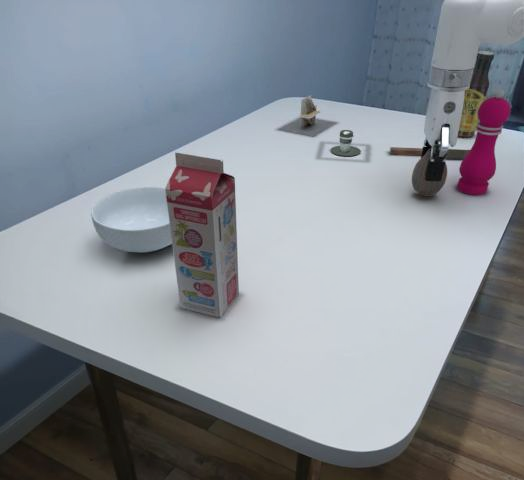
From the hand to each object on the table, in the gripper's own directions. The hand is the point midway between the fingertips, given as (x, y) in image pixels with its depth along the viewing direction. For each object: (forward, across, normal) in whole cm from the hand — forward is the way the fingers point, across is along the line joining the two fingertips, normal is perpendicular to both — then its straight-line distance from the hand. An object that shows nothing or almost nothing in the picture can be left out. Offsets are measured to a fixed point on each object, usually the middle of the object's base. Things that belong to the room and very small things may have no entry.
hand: (429, 172), depth 102 cm
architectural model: (+5, +46, +27) cm, 53 cm away
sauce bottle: (+6, +43, -16) cm, 46 cm away
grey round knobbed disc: (+5, +26, +17) cm, 31 cm away
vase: (+4, 0, 0) cm, 4 cm away
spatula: (+5, +26, -5) cm, 27 cm away
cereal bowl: (+4, -26, +54) cm, 60 cm away
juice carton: (+4, -43, +39) cm, 58 cm away
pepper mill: (+6, +5, -11) cm, 13 cm away
